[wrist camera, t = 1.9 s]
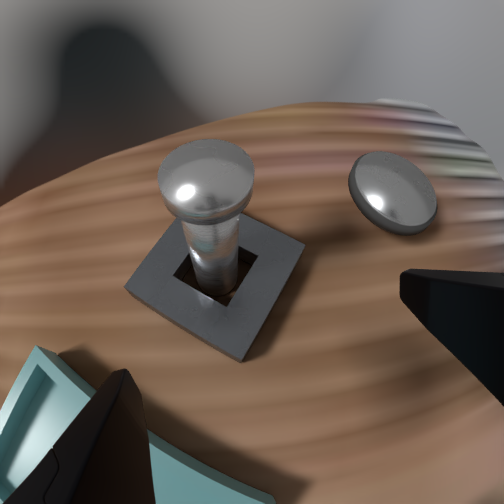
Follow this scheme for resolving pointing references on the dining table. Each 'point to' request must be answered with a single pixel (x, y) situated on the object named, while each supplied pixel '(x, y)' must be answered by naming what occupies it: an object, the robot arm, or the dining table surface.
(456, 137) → the dining table surface
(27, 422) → the tray
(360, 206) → the silver round knob
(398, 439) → the dining table surface
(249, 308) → the pin collar
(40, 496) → the robot arm
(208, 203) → the pin
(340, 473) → the dining table surface
